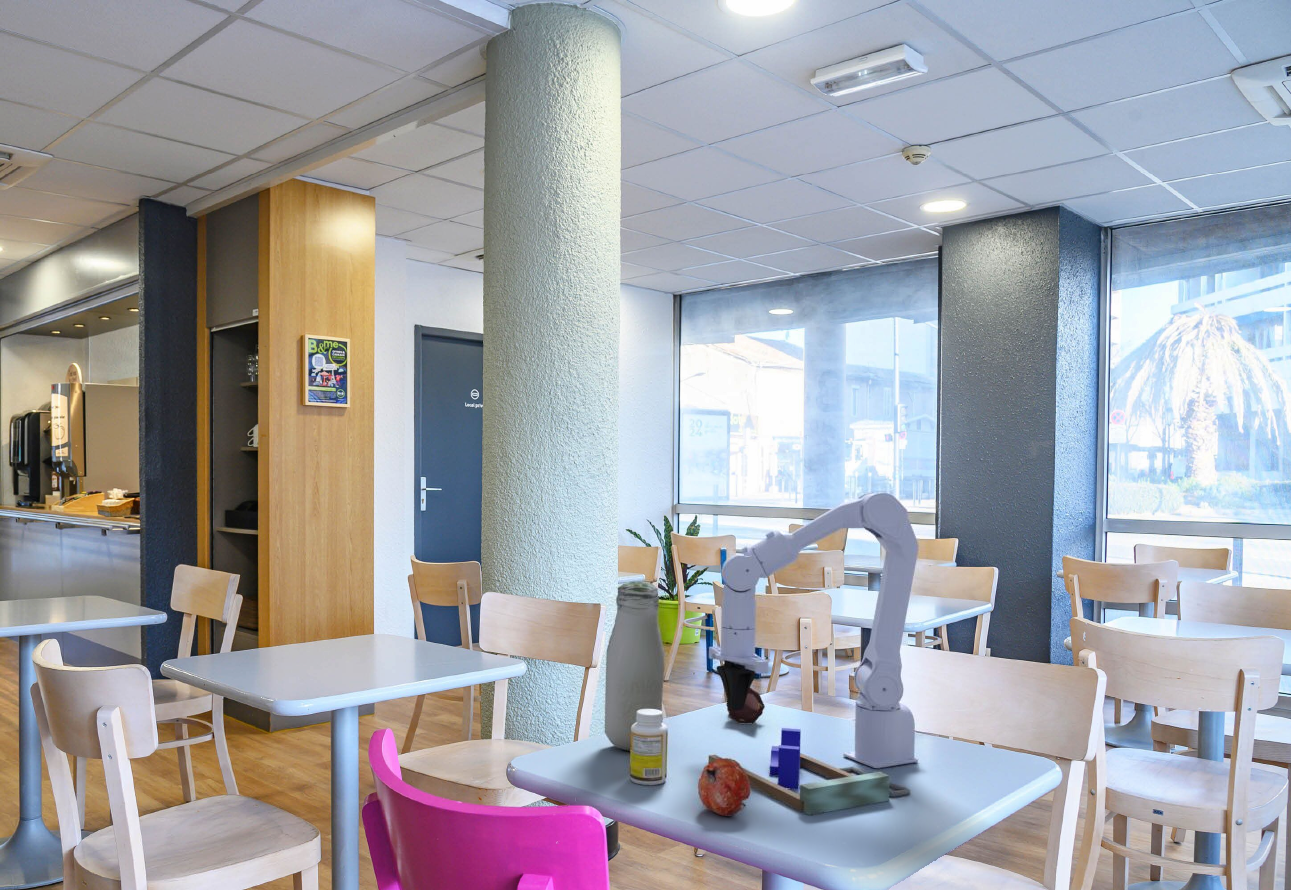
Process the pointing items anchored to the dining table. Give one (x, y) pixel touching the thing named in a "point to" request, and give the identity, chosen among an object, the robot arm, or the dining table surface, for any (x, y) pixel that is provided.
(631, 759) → the supplement bottle
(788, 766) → the cable clip
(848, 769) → the cord loop
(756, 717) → the icecream
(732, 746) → the dining table surface
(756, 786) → the guide lane
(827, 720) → the dining table surface
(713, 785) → the pomegranate
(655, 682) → the glass bottle
